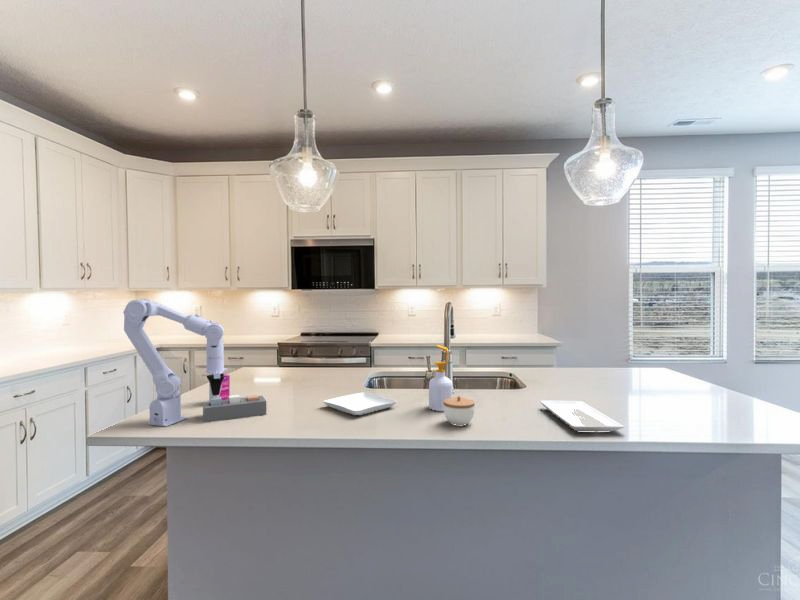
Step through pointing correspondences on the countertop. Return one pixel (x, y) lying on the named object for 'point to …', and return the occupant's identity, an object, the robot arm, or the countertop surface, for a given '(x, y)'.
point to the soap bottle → (440, 386)
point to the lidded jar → (458, 410)
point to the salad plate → (360, 403)
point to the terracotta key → (252, 398)
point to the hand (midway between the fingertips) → (215, 394)
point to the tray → (565, 414)
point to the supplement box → (222, 389)
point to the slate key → (215, 401)
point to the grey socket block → (234, 409)
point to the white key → (234, 399)
